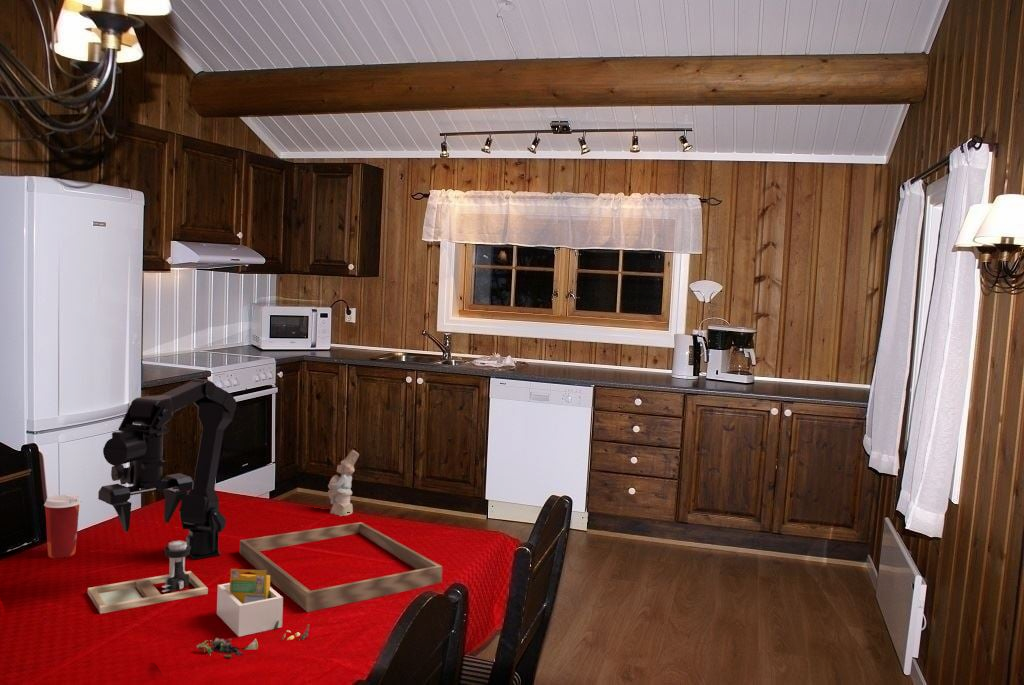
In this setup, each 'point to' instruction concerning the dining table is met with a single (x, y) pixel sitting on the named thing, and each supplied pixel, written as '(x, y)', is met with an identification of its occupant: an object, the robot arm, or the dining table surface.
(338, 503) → the figurine
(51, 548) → the paper cup
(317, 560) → the dining table surface
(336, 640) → the dining table surface
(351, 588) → the tray rim
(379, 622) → the dining table surface
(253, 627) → the crayon stand
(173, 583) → the push button
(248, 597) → the crayon box
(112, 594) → the wooden double frame
